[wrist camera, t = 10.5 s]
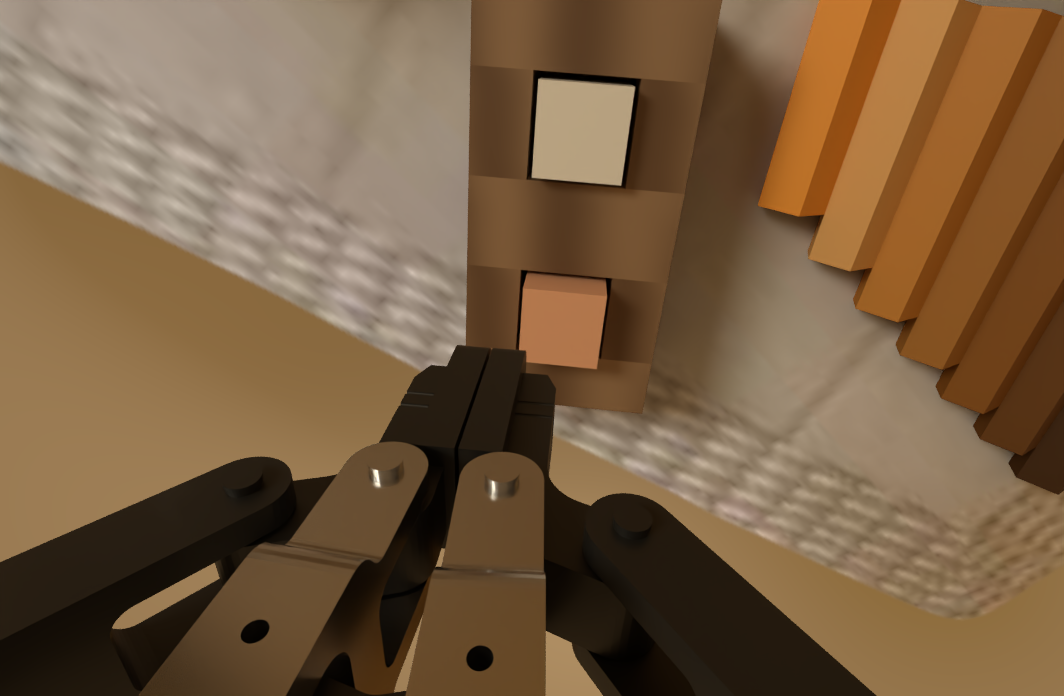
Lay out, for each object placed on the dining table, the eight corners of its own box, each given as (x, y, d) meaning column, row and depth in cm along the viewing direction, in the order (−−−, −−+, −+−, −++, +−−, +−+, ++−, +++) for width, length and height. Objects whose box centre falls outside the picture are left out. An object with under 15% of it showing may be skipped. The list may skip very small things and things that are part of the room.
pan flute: (1048, 464, 39) (1331, 55, 27) (1086, 498, 36) (1424, 56, 24) (684, 413, 39) (807, -10, 28) (693, 443, 36) (834, -17, 25)
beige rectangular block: (626, 80, 28) (635, 87, 23) (615, 163, 30) (621, 185, 25) (546, 73, 28) (538, 79, 24) (540, 156, 30) (531, 177, 26)
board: (696, 4, 28) (723, -6, 22) (633, 361, 37) (641, 413, 32) (493, -11, 28) (471, -24, 23) (481, 346, 38) (465, 395, 32)
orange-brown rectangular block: (603, 258, 32) (606, 296, 27) (594, 322, 34) (596, 369, 29) (532, 251, 32) (522, 288, 27) (527, 316, 34) (518, 361, 29)
